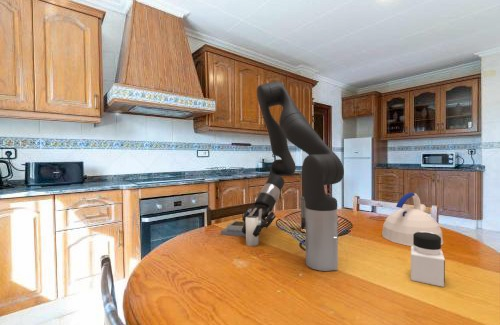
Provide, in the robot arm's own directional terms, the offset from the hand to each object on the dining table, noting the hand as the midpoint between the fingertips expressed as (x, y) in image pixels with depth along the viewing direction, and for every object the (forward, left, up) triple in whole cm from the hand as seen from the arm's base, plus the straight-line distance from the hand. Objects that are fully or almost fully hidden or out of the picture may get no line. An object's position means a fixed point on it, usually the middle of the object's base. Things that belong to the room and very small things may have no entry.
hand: (249, 234), depth 96 cm
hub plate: (+9, -15, -4) cm, 18 cm away
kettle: (-58, -27, -5) cm, 64 cm away
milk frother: (-23, -27, -4) cm, 36 cm away
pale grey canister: (-1, -2, -4) cm, 5 cm away
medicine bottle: (-54, +9, -4) cm, 55 cm away
